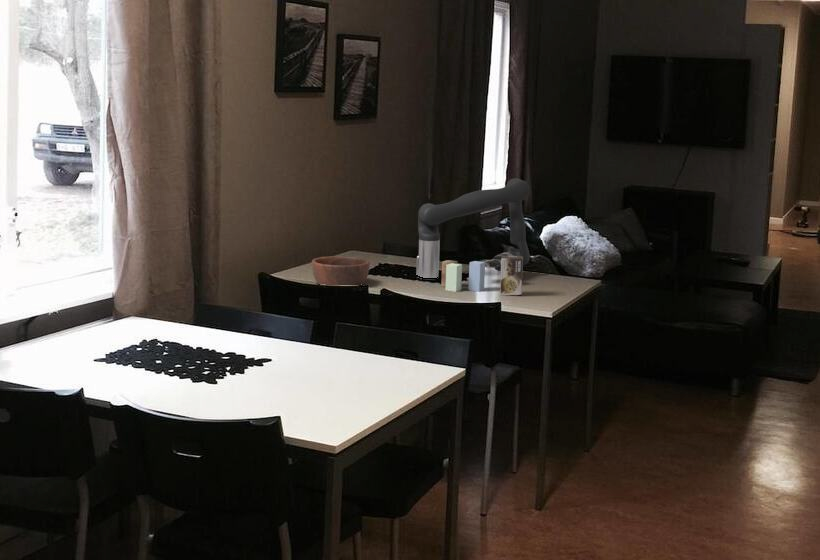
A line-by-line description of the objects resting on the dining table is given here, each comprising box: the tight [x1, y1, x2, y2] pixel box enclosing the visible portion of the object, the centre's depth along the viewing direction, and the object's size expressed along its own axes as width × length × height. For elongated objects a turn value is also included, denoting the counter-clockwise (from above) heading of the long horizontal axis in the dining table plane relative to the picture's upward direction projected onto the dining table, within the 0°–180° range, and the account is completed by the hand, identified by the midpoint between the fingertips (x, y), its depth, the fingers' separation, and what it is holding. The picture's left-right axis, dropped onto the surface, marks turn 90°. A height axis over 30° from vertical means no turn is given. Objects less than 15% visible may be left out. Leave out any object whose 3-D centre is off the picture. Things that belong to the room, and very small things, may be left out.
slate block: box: [468, 260, 486, 292], centre depth 467 cm, size 5×5×12 cm
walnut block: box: [440, 259, 459, 288], centre depth 473 cm, size 5×5×11 cm
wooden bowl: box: [311, 255, 371, 286], centre depth 473 cm, size 25×25×10 cm
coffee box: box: [499, 256, 524, 295], centre depth 459 cm, size 9×6×16 cm
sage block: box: [444, 263, 463, 293], centre depth 466 cm, size 5×5×11 cm
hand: (488, 267), depth 476 cm, fingers open, 8 cm apart
